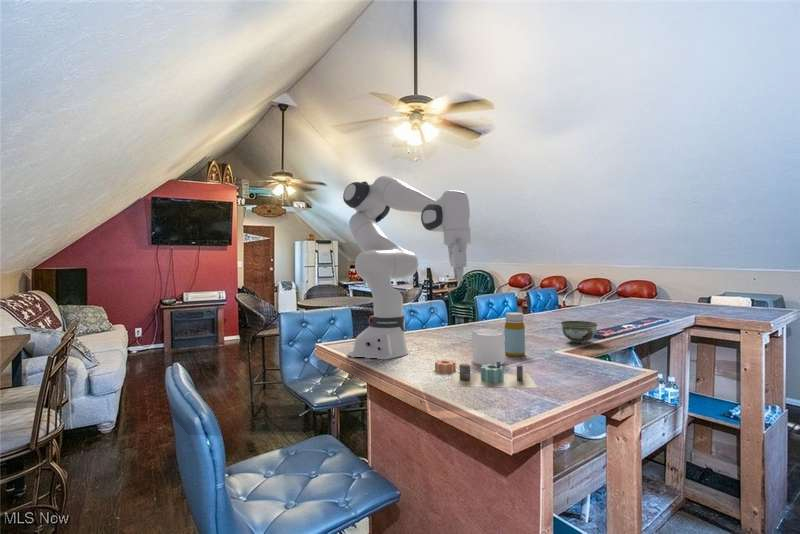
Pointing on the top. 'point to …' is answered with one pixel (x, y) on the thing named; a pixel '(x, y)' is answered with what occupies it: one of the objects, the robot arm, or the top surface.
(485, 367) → the gear
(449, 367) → the gear
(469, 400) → the top surface
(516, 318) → the bottle
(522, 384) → the gear board
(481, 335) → the mug
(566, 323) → the bowl
